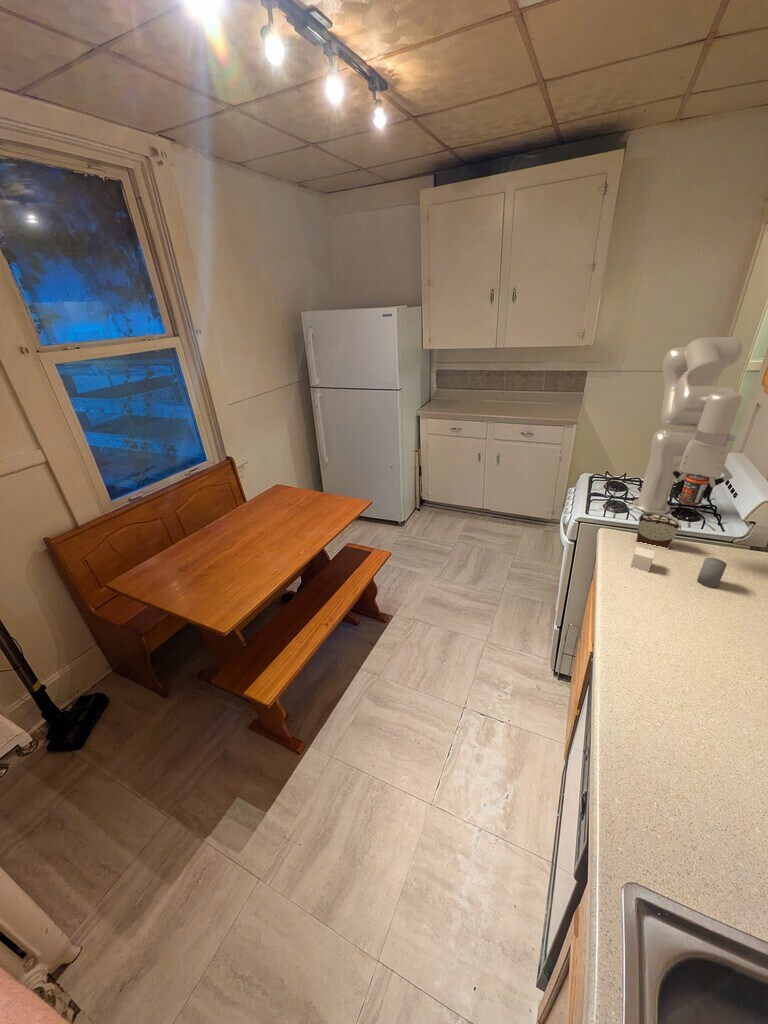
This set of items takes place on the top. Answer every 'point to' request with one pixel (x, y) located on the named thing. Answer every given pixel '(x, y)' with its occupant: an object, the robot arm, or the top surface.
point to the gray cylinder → (711, 572)
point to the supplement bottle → (693, 489)
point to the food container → (657, 529)
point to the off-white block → (642, 559)
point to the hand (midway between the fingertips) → (691, 494)
